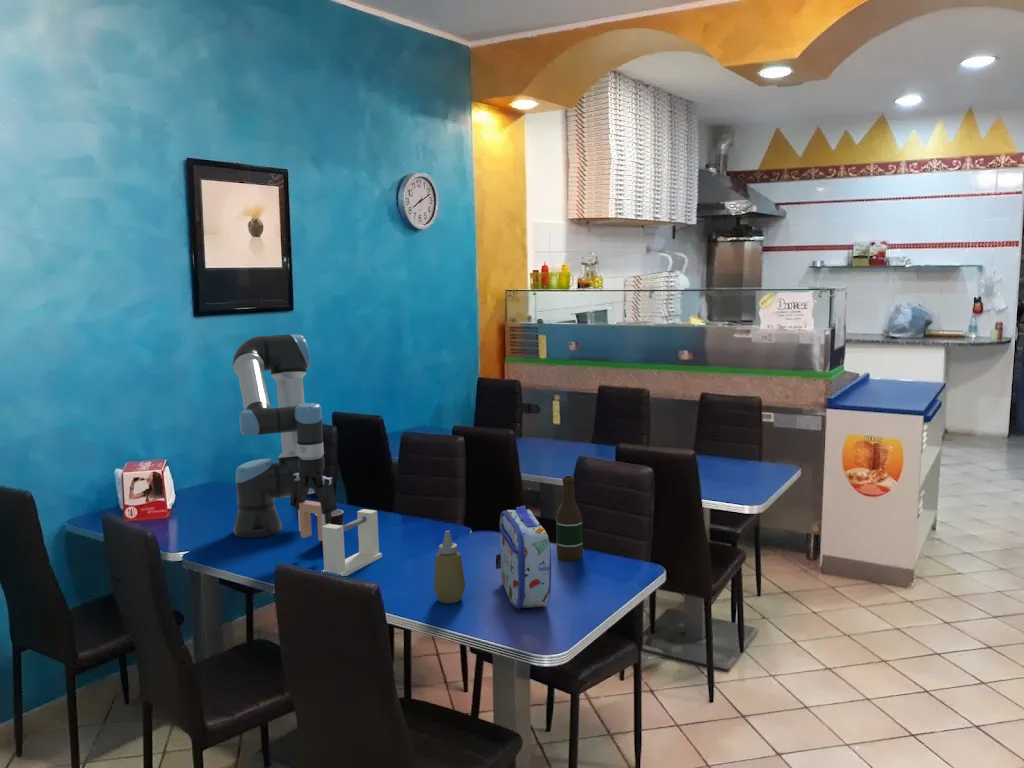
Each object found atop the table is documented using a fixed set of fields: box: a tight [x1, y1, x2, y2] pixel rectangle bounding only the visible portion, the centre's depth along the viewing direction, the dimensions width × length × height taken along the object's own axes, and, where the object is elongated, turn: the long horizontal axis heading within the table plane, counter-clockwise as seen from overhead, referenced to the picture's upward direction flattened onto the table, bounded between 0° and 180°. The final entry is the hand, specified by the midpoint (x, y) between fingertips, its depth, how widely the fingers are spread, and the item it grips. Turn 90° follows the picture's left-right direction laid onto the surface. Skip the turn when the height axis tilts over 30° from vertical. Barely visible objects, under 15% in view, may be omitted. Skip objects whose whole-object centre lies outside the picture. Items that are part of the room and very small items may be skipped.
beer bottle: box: [555, 475, 584, 563], centre depth 239 cm, size 8×8×24 cm
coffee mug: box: [314, 508, 344, 548], centre depth 260 cm, size 12×9×10 cm
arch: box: [299, 499, 323, 542], centre depth 245 cm, size 8×3×10 cm, turn 64°
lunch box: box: [495, 505, 552, 609], centre depth 212 cm, size 28×10×22 cm, turn 12°
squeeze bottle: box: [433, 530, 466, 604], centre depth 211 cm, size 8×8×18 cm
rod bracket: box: [321, 508, 383, 577], centre depth 238 cm, size 7×19×14 cm, turn 154°
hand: (314, 531), depth 245 cm, fingers closed on arch, 8 cm apart
